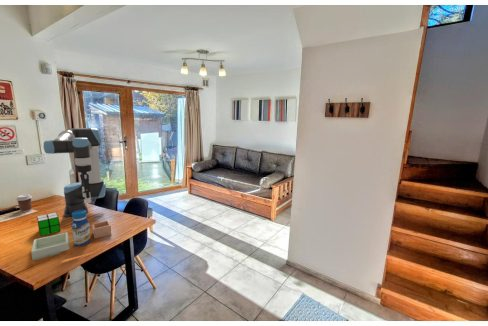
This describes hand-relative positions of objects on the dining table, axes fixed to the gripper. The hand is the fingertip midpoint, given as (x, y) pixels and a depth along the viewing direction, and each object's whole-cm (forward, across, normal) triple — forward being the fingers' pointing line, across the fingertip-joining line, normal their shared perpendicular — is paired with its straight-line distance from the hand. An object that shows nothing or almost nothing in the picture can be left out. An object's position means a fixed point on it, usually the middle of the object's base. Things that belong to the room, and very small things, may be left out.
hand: (87, 199), depth 138 cm
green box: (+25, +2, -19) cm, 31 cm away
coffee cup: (+25, -80, -34) cm, 90 cm away
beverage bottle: (+25, +5, -5) cm, 26 cm away
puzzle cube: (+25, -26, -20) cm, 41 cm away
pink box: (+25, -1, +6) cm, 25 cm away
